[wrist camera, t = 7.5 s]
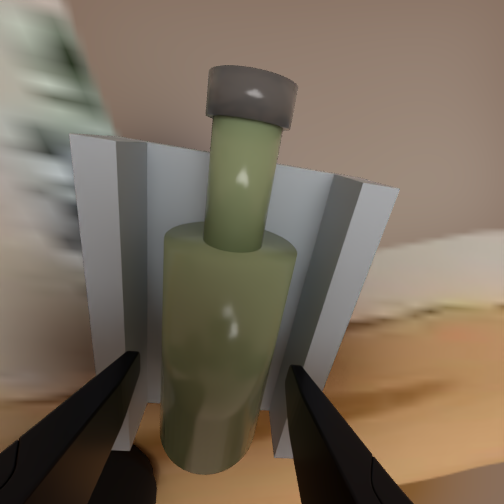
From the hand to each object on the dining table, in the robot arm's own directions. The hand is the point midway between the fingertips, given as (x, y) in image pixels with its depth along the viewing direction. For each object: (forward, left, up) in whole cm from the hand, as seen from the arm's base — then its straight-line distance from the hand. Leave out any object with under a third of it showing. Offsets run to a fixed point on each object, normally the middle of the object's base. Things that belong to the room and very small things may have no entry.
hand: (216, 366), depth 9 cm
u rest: (0, 0, -4) cm, 4 cm away
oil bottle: (+2, 0, -3) cm, 4 cm away
